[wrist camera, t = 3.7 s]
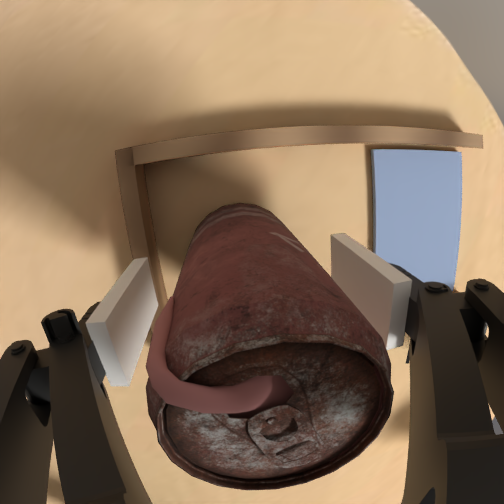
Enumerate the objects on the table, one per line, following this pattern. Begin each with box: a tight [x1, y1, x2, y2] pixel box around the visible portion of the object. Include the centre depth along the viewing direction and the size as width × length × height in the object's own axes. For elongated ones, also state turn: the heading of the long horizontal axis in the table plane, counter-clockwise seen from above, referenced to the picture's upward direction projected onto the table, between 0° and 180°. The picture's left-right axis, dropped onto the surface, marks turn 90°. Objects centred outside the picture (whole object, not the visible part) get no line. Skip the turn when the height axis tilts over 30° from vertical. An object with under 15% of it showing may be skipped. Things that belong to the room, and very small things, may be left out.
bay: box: [115, 125, 483, 334], centre depth 18 cm, size 24×14×2 cm, turn 96°
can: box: [146, 203, 394, 490], centre depth 12 cm, size 6×6×14 cm
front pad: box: [371, 149, 462, 291], centre depth 20 cm, size 8×11×1 cm
